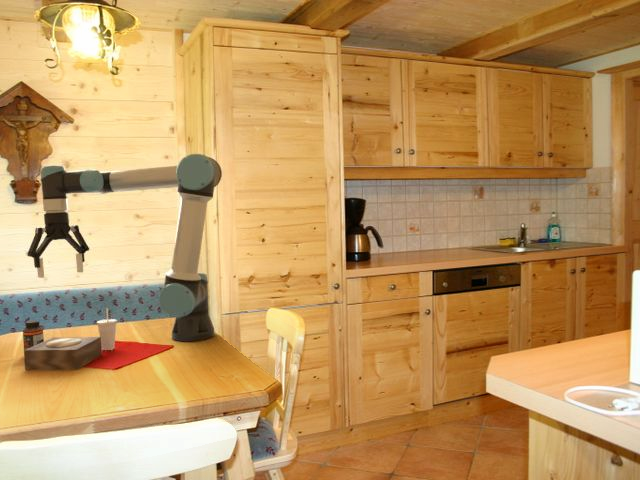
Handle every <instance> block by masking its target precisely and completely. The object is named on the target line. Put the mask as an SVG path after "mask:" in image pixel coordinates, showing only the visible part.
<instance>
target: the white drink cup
mask: <svg viewBox="0 0 640 480" xmlns="http://www.w3.org/2000/svg"><path fill="white" fill-rule="evenodd" d="M105 311H106V312H105V314H106V319H101V320H98V321H96V326H97V328H98V333H99V337H101V350H102V351H103V350H105V351H104V352H107V351H106V350H111V351H114V350H115V344H116V330H117V329H116V327H117V324H118V320H117V319H116V318H115V319H113V318H111V319H110V318H109V308H108V307H107V308H106V310H105ZM113 349H114V350H113Z"/></svg>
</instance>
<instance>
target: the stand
mask: <svg viewBox="0 0 640 480" xmlns="http://www.w3.org/2000/svg"><path fill="white" fill-rule="evenodd" d="M102 352H103V350H102V345H101V337H100V336H74V337H73V336H70V337H69V336H67V337H65V336H63V337H54V336H53V337H50V338H49V339H46V340H44V342H42V343H39V344H37V345H35V346H33V347H30V348H28V349H26V350H24V349H23V357H24V370H25V371H77V370H79V369H81V368H83V367H84V366H86V365H88V364H89V363H91V362H93V361H95V360H96V359H98V358H99V356H100V357H101V356H102V355H103V353H102ZM94 359H95V360H94Z"/></svg>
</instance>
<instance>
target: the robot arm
mask: <svg viewBox="0 0 640 480" xmlns="http://www.w3.org/2000/svg"><path fill="white" fill-rule="evenodd" d="M222 177H223V172H222V168H221V166H220V163H219V162H218V161H217V160H215V159H214V158H212V157H209V156H206V155H205V154H201V153H191V154H188V155H186V156H184V157H183V158H182V159H180V161H179V162H178V164H177V165H171V166H158V167H147V168H134V169H133V168H132V169H121V170H111V171H99V170H98V169H89V168H88V169H84V170H83V169H82V170H81V169H80V170H70V171H69V170H66V168H65V166H64V165H58V164H57V165H43V166H42V167H41V168H40V182H41V192H42V207H43V211H44V212H45V213H44V214H43V219H44V226H45V227H35V233H34V237H33V239H32V241H31V244H30V246H29V249H28V251H27V254H26V256H27V257H29V258H30V257H31V258H33V265H34V268H36V270H37V277H38V278H41V279H42V278H45V271H44V260H43V259H44V258H43V257H42V255H43V253H44V252H45V250H46V249H47V248H48V246H49V245H50V244H51V242H52V241H58V240H65V241H66V242H67V243H68V244H69V245H70V246H71V247H72V248H73V249H74V250H75V251H76V252H77V253H75V261H76V271H77V273H84V265H83V264H84V262H85V253H86V252H87V251H90V247H89V246H88V244H87V242H86V240H85V238H84V237H83V235H82V234H81V232H80V228H79V225H78V224H73V225H71V226H70V217H69V212H67V211H68V210H69V205H68V204H69V203H68V194H69V195H70V194H100V195H101V194H105V195H106V194H109V193H117V192H118V193H120V192H122V193H123V192H132V191H145V190H158V189H174V188H177V192H176V193H177V194H178V196H179V197H180V205H179V211H178V219H177V220H178V221H177V226H176V233H175V241H174V248H173V254H172V263H171V268H170V270H169V271H167V272H166V273H165V277H164V278H165V279H164V285H163V287H162V288H161V290H160V292H159V294H158V305H159V307H160V309H161V310H162V311H163V313H165V314H166V315H167V316H170V317H172V318H175V319H174V323H173V327H172V328H171V329H172V330H171V340H173V341H178V342H195V341H196V342H197V341H203V340H204V341H205V340H208V339H211V338H213V337H214V336H215V335H216V334H215V332H216V331H215V327H214V324H213V322H212V319H211V316H210V311H209V310H210V309H209V285H208V284H209V280H208V276H207V274H206V273H205V272H202V273H198V271H199V270H198V269H199V264H200V255H201V250H202V244H203V243H202V242H203V237H204V236H203V235H204V229H205V222H206V215H207V209H208V208H207V207H208V203H209V201H211V200H212V199H213V198H214V192H215V188H216V187H217V186H218V185H219V183H220V182H221V180H222ZM70 232H72V234H73V235H74V237H75V239H74V238H73V236H72V235H71V234H70ZM44 233H45V234H46V235H45V237H44V238H43V240H42V237H43V234H44ZM41 240H42V242H41V244H40V241H41ZM39 244H40V245H39Z"/></svg>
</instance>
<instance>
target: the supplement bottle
mask: <svg viewBox="0 0 640 480" xmlns="http://www.w3.org/2000/svg"><path fill="white" fill-rule="evenodd" d="M44 339H45V338H44V328H43V327H42V326H40V320H38V319H32V320H27V321H25V328H23V330H22V341H23V351H24V350H26V349H28V348H30V347H33V346H35V345H37V344H39V343H42V342H44V341H45V340H44Z"/></svg>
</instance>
